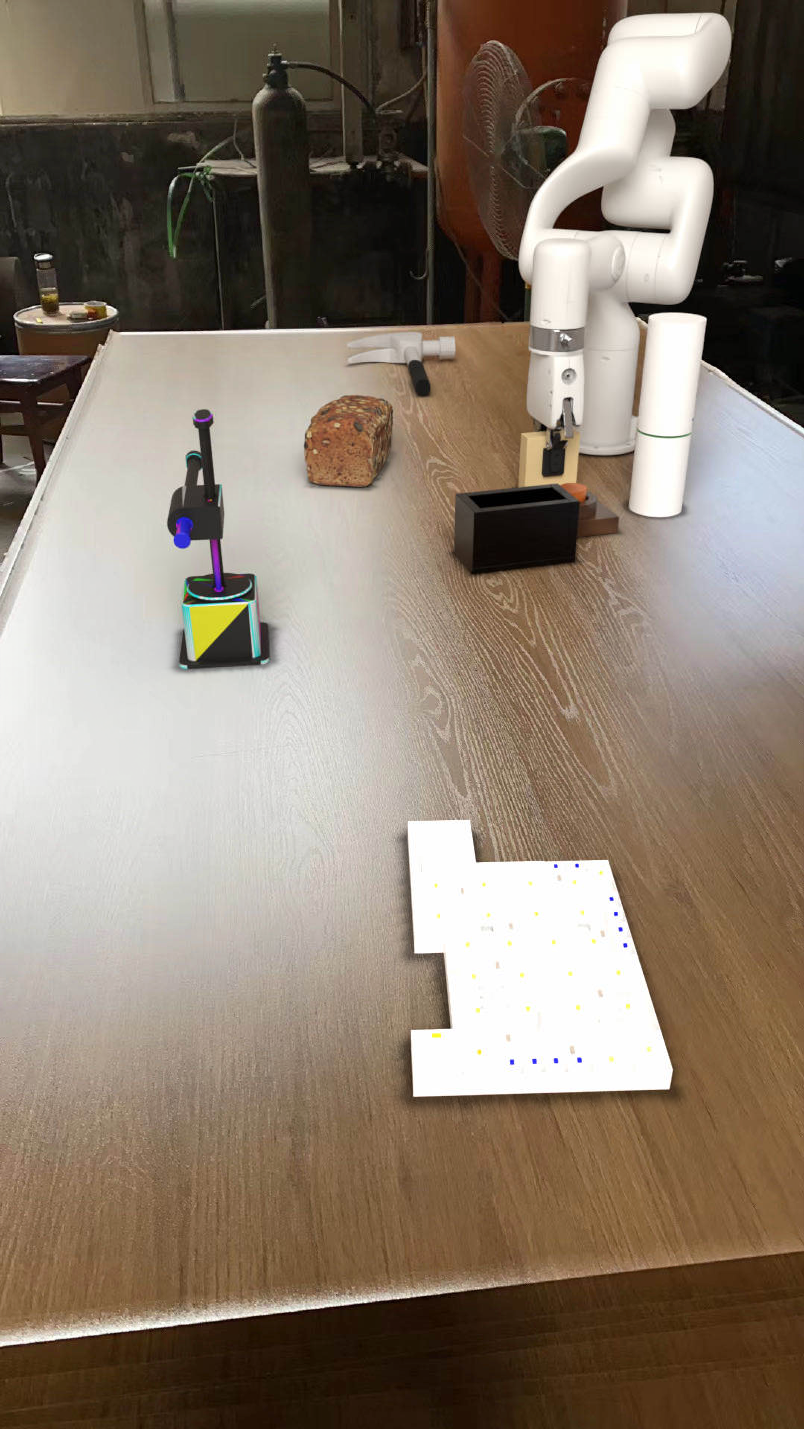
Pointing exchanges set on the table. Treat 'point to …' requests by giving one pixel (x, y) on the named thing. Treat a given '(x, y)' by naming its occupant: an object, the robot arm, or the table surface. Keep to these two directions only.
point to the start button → (576, 490)
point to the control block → (595, 518)
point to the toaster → (515, 528)
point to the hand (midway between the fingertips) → (548, 470)
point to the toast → (534, 455)
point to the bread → (348, 441)
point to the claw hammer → (404, 353)
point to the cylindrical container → (666, 412)
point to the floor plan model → (528, 975)
